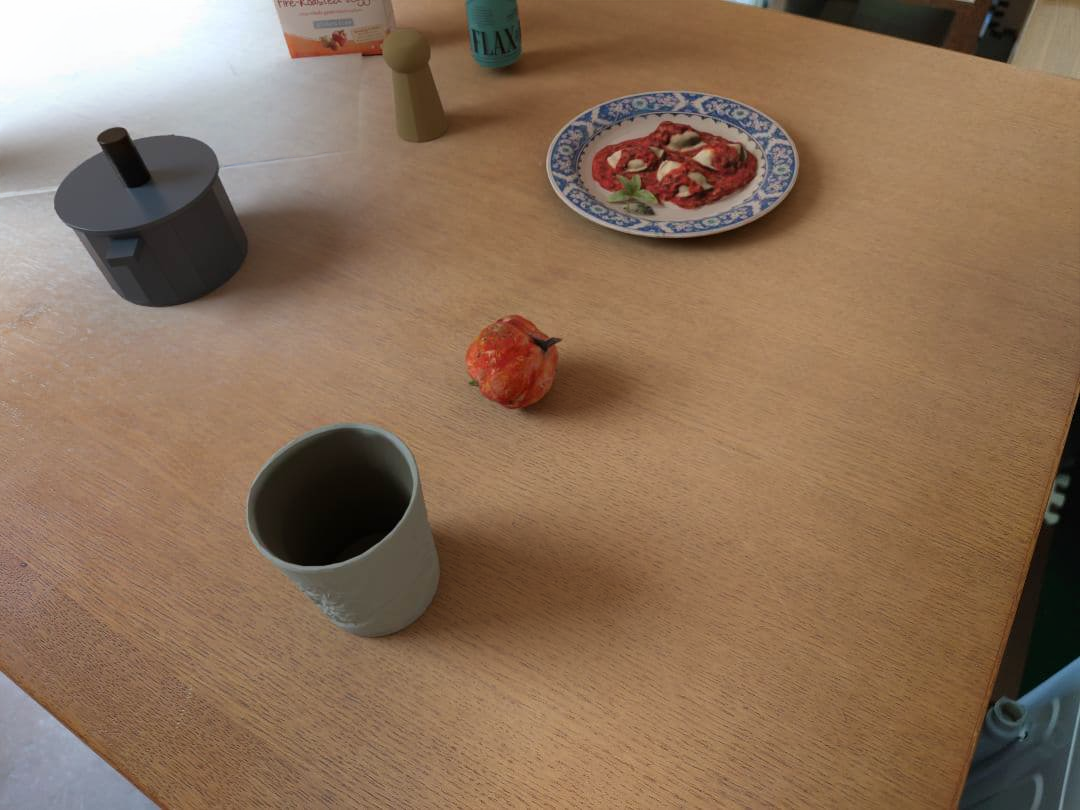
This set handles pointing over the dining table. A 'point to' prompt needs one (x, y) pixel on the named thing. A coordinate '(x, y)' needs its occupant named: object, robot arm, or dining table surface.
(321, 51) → the cracker box
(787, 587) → the dining table surface
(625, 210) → the ceramic plate
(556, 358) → the pomegranate
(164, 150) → the lid
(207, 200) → the pot
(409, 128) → the olive peg figure
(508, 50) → the beverage bottle
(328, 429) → the grey green cup
